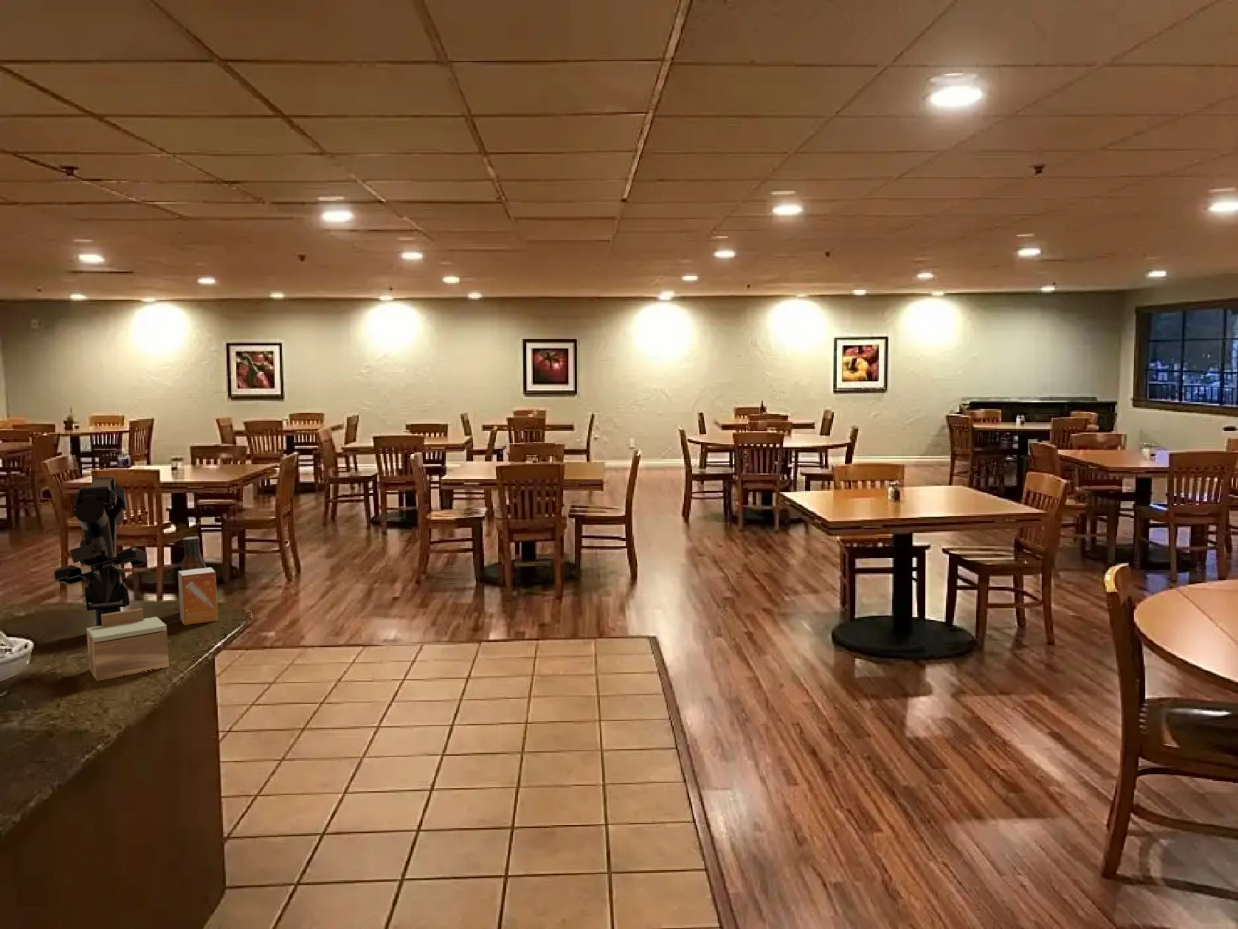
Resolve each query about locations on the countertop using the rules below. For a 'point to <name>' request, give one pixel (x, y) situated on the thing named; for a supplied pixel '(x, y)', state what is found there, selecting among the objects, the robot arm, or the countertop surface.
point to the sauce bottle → (192, 554)
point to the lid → (124, 625)
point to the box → (128, 655)
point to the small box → (197, 595)
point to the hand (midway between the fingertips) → (105, 601)
